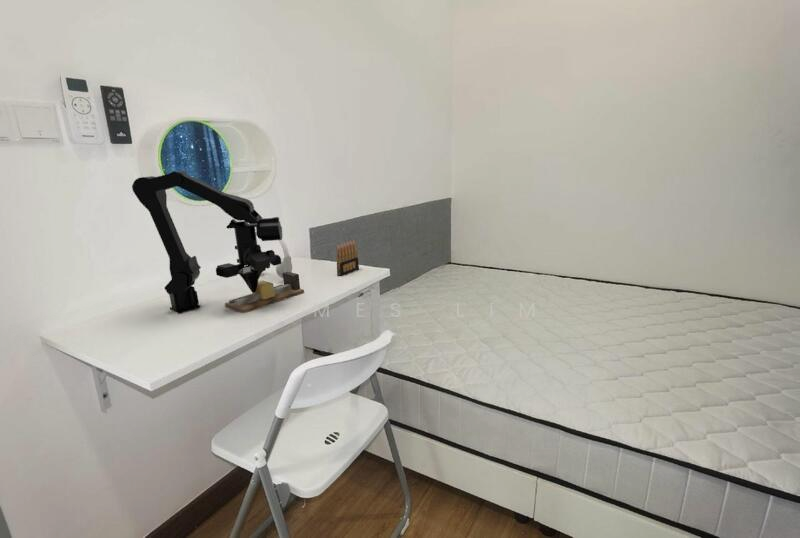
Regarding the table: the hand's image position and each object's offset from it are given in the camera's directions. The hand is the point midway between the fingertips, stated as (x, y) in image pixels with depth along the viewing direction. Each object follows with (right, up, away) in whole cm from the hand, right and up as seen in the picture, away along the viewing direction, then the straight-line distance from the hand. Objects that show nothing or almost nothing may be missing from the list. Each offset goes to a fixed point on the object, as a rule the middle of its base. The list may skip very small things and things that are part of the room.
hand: (253, 292), depth 127 cm
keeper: (+2, -1, +3) cm, 4 cm away
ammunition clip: (+25, +5, +31) cm, 40 cm away
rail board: (+3, -3, +4) cm, 5 cm away
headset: (-3, +3, +27) cm, 27 cm away
